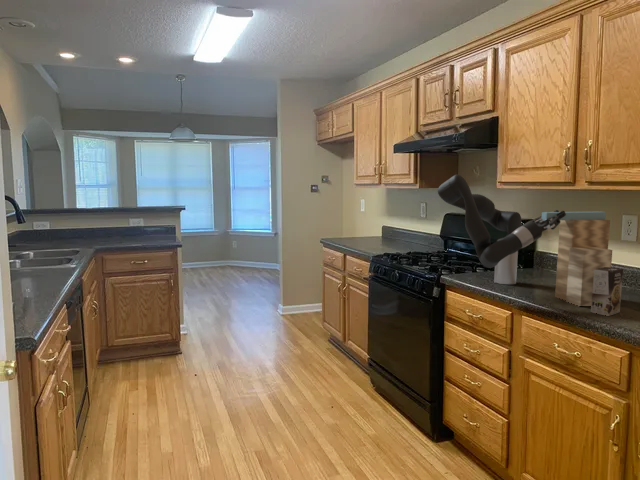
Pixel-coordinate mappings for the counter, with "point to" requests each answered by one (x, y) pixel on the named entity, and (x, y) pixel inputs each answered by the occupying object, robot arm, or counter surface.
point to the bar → (577, 215)
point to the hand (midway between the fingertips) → (561, 212)
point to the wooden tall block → (577, 245)
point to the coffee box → (607, 291)
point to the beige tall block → (584, 272)
